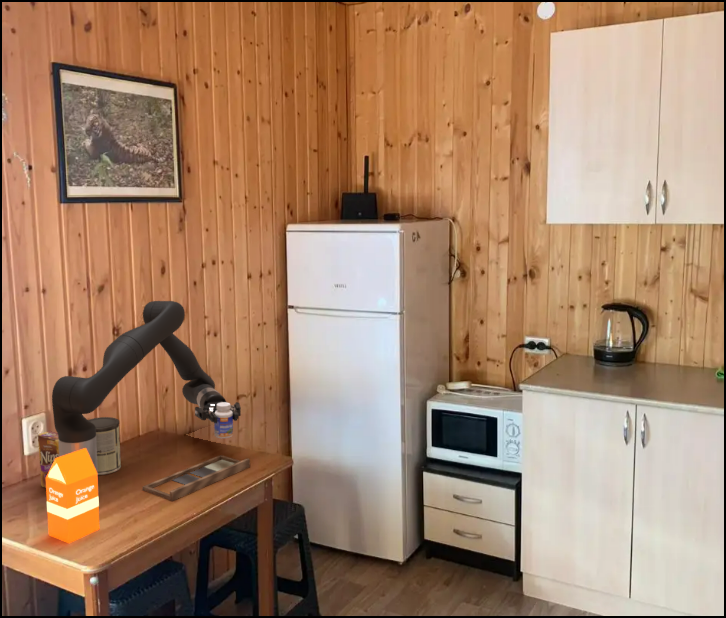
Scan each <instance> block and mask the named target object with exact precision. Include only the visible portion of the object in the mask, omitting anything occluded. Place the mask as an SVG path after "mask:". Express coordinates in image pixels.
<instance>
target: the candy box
mask: <svg viewBox="0 0 726 618" xmlns="http://www.w3.org/2000/svg"><path fill="white" fill-rule="evenodd" d="M37 442H38V445H37V446H38V457H39V469H40V471H39V472H40V485H41V487H42V488H45V489H46V477H47V474H48V472H49V470H50V468H51V466H52V464H53V462H54V460H55V458H58V457H59V440H58V433H57V432H55V431H51V430H47V431H44V432H42V433H39V434H38V435H37Z"/></svg>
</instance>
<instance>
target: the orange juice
mask: <svg viewBox="0 0 726 618" xmlns="http://www.w3.org/2000/svg"><path fill="white" fill-rule="evenodd" d="M97 474H98V473H97V471H96V469H95V467H94V465H93V462H92V460H91V458H90V456H89V454H88V451H87V449H86V448H84V449H81V450H78V451H75V452H72V453H69V454H66V455H63V456H60V457H58V458H55V460H54V462H53V464H52V466H51V468H50V470H49V472H48V474H47V477H46V488H45V490H46V491H45V494H46V512H47V513H46V514H47V529H48V536H50V537H51V538H55V539H57V540H60V541H62V542H65V543H67V544H71V543H73V542H75V541H77V540H79V539H82V538H84V537H86V536H88V535H90V534H92V533H95V532H97V531H99V530H100V510H99V509H100V508H99V507H100V502H99V491H98V490H99V478H98V477H99V476H98V477H97Z"/></svg>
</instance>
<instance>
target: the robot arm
mask: <svg viewBox="0 0 726 618" xmlns="http://www.w3.org/2000/svg"><path fill="white" fill-rule="evenodd" d="M185 313H186V312H185V307H184V306H183V305H182V304H181V303H180V302H177V301H174V300H153V301H149V302H148V303H146V304H145V306H144V308H143V310H142V318H143V319H142V320H143V323H144V324H143V325H139V326H137V327H135V328H133V329H129V330H128V331H126V332H124V333H122V334H120V335H119V336H118V337H117V338H115V339H114V340H113V341H112V342H111V343H110V344H109V345H108V346H107V347H106V349H105V350H104V353H103V359H102V367H101V368H100V369H99V370H97V372H96V373H94V374H92V376H89V377H81V376H80V377H79V376H70V375H65V376H61V377H59V379H57V381H56V382H55V383H54V386H53V388H52V393H51V404H52V406H51V407H52V413H53V414H52V415H53V423H54V428H55V431H56V433H58V440H59V457H60V456H63V455H66V454H69V453H72V452H75V451H78V450H81V449H84V448H86V449H87V451H88V454H89V456H90V458H91V460H92V462H93V465H94V467H95V469H96V471H97V473H98V469H97V444H96V427H95V425H94V424H93V423H92V422H90V421H89V420H90V419H87V418H86V417H85V416H84V415H87V414H91V413H93V412H94V411H95V410H96V409H98V407H100V405H101V404H102V403H103V402H104V401H105V399H106V398H107V397H108V396H109V394H110V393H111V392H112V390H114V388H115V387H116V386H117V385H118V384H119V383H120V382H121V381H122V380H124V379H123V378H125V377H126V376H127V375H128V374H129V372H131V371H132V370H133V369H134V368H136V367H137V366H138V364H139V363H140V362H142V361H143V360H144V358H145V357H146V356H147V355H148V354H149V353H151V352H152V351H153V350H154V349H155V348H156V347H157V346H158V345H160V346H161V347H162V348H163V349H164V351H165V353H166V354H167V355H168V357H169V358H170V360H171V361H172V363H173V365H174V367H175V369H176V371H177V373H178V375H179V376H180V378H181V379H182V380H183V381H186V383H185V384H184V385H183V386H182V395H183V397H184V399H186V400H187V402H189V403H191V404H194V405H197V406H195V407H194V416H195V417H197V418H198V419H200V420H202V421H206V420H207V419H208V421H210V422H211V423H213V424H214V423H217V416H216V415H215V411H217V404H218V403H221V402H227V400H226V398H225V397H224V396H223V395H222V394H221V393H220V392H219V391H218V390H216V389H215V388H216V384H215V382H214V380H213V378H212V377H211V376H210V375H209V374H207V373H206V372H205V371H204V369H202V366H201V365H200V363H199V361H198V359H197V357H196V356H195V354H194V352H193V350H192V349H191V348H190V347H189V346H188V345H187V344H185V343H184V342H183V341H182V340H181V339H180V338H178V337H177V336H176V335H175V332H177V330H179V328H181V326H182V324H183V323H184V320H185V316H186V315H185ZM230 407H231V408H230V410H231V411H232V412H233V422H237V421H238V419H239V417H240V416H241V415H242V414H241V410H242V409H241V405H240V402H239V401H238V402H235V403H234V404H232V405H231V404H230ZM97 477H99V475H98V474H97ZM98 492H99V489H98Z"/></svg>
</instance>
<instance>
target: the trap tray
mask: <svg viewBox="0 0 726 618" xmlns="http://www.w3.org/2000/svg"><path fill="white" fill-rule="evenodd" d="M199 468H200V469H199ZM248 468H251V459H250V458H245V459H243V460H239V459H236V458H233V457H229V456H226V455H224V454H220V455H217V456H215V457H213V458H210V459H208V460H205V461H203V462H200V463H198V464H197V463H196V464H195V465H192V466H190V467H187V468H185V469H183V470H180V471H178V472H174V473H173V474H170V475H167V476H165V477H163V478H160V479H158V480H155V481H153V482H151V483H148V484H146V485H143V486H142V488H141V489H142V491H145V492H147V493H149V494H152V495H155V496H158V497H160V498H163V499H166V500H168V501H171V502H173V501H176V500H178V498H179V499H180V497H181V498H183V497H185V496H187V494H188V495H190V494H192V493H195V492H197V491H199V490H201V489H203V488H205V486H206V487H209V486H210V485H212V484H215V483H216V482H219V481H222V480H223V479H226V478H228V477H230V476H233V475H236V474H237V473H239V472H242V471H245V470H247V469H248ZM194 470H195V471H194ZM192 474H194V475H192ZM182 475H183V476H182ZM195 475H196V476H195ZM198 476H200V477H198ZM201 477H202V478H201ZM171 481H173V482H176V483H178V484H180V485H181V486H179V487H177V488H175V489H172V490H170V491H169V493H167V492H165V491H163V490H162V491H161V490H159V489H157V488H156V487H158V486H160V485H163V484H165V483H167V482H171ZM183 484H184V485H183ZM196 490H197V491H196ZM189 493H190V494H189Z"/></svg>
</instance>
